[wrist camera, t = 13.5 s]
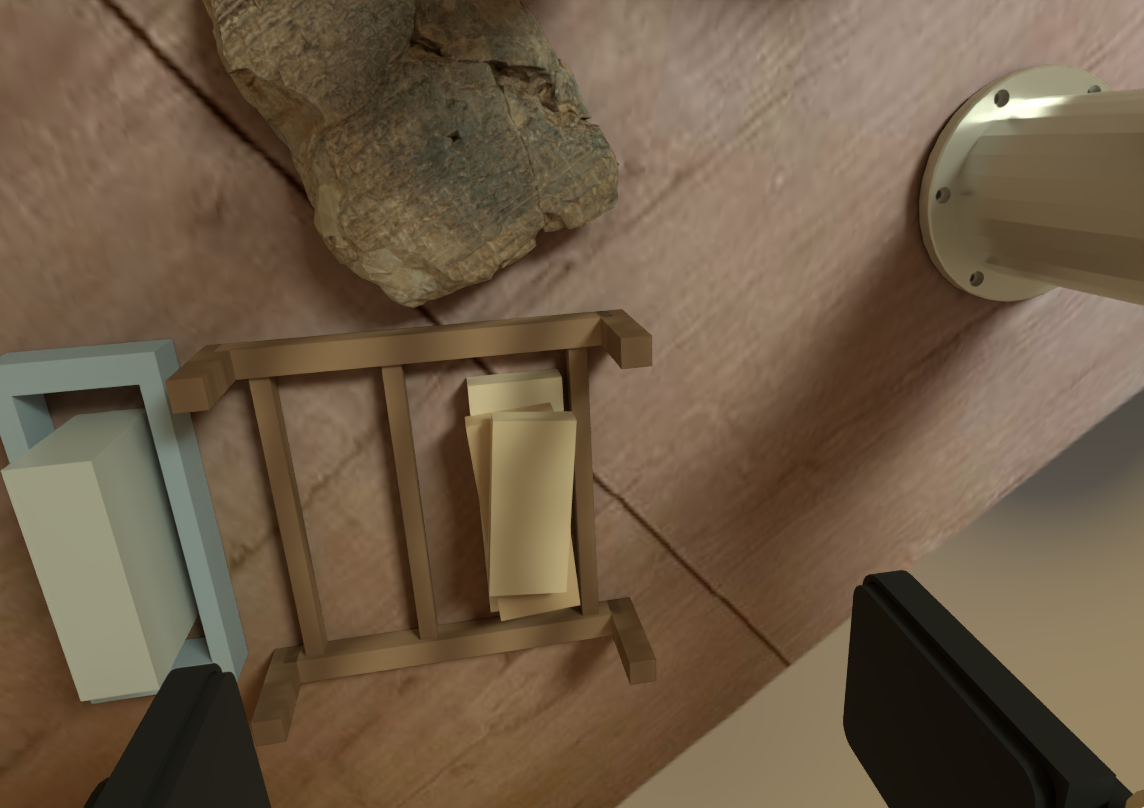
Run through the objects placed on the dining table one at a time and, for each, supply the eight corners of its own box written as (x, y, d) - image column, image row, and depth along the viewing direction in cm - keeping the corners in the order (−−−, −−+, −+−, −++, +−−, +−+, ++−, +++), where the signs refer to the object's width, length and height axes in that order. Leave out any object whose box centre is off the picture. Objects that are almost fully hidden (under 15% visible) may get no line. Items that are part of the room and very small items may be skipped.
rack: (621, 309, 40) (651, 335, 34) (630, 617, 47) (656, 681, 41) (206, 345, 37) (164, 381, 31) (279, 669, 44) (256, 746, 38)
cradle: (172, 338, 36) (154, 351, 34) (248, 653, 43) (237, 682, 41) (7, 352, 35) (-23, 367, 33) (110, 673, 42) (91, 703, 40)
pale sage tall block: (151, 406, 38) (91, 460, 31) (203, 604, 42) (159, 689, 35) (77, 413, 37) (0, 470, 31) (137, 613, 41) (80, 701, 35)
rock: (127, -55, 31) (397, 332, 38) (75, -93, 27) (393, 354, 34) (405, -229, 31) (625, 191, 38) (402, -297, 27) (651, 193, 34)
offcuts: (561, 368, 40) (575, 393, 36) (573, 584, 45) (587, 629, 41) (460, 377, 40) (463, 405, 36) (483, 597, 44) (488, 644, 40)
